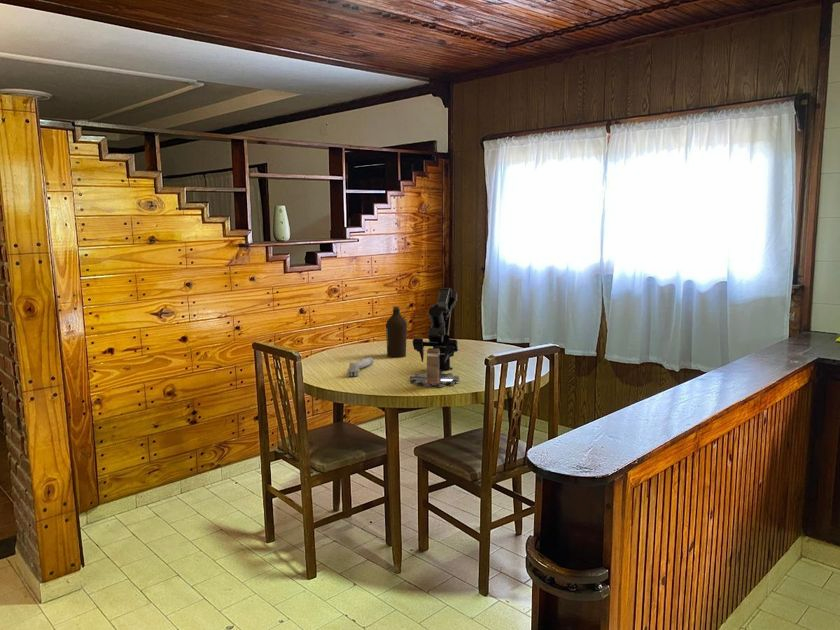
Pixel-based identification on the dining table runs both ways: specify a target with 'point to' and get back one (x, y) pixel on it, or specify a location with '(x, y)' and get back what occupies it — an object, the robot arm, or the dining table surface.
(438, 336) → the robot arm
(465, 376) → the dining table surface
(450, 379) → the sprocket plate
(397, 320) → the olive oil
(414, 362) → the dining table surface
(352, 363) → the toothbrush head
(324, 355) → the dining table surface
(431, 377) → the link block
